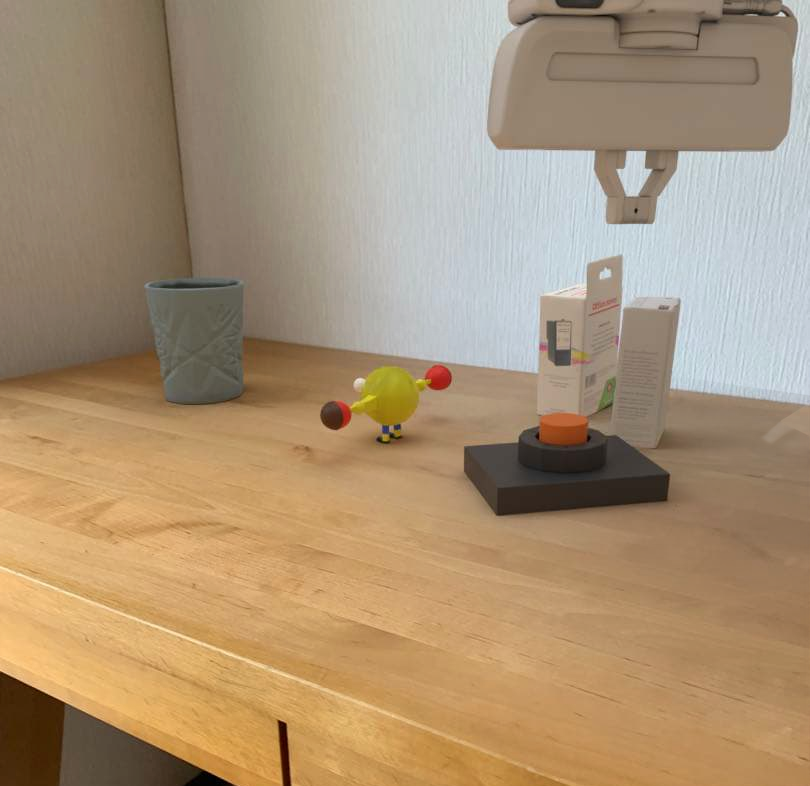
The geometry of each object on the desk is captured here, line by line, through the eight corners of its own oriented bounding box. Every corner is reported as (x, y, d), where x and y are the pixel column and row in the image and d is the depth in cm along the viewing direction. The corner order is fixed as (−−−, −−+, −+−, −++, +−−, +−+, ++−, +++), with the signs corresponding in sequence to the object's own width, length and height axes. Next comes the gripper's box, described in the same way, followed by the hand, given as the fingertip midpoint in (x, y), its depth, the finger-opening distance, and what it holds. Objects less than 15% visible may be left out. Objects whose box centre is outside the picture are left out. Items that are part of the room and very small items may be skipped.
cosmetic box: (618, 427, 82) (629, 294, 77) (667, 431, 81) (682, 296, 76) (607, 446, 77) (618, 305, 72) (659, 451, 75) (674, 307, 71)
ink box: (571, 396, 93) (580, 250, 87) (616, 403, 90) (627, 252, 84) (533, 415, 87) (539, 259, 81) (579, 422, 84) (589, 262, 78)
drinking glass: (141, 396, 97) (125, 284, 92) (214, 379, 104) (203, 274, 99) (197, 410, 91) (183, 291, 86) (271, 391, 98) (262, 280, 93)
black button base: (614, 459, 74) (617, 413, 72) (667, 501, 65) (673, 449, 63) (463, 471, 72) (464, 424, 70) (496, 516, 63) (498, 463, 61)
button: (577, 433, 69) (578, 411, 68) (594, 446, 65) (595, 424, 65) (532, 436, 68) (533, 414, 67) (547, 450, 65) (548, 427, 64)
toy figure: (420, 413, 88) (419, 345, 85) (467, 421, 85) (468, 351, 82) (301, 461, 75) (295, 383, 72) (352, 473, 72) (348, 392, 69)
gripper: (774, 5, 60) (743, 220, 65) (484, -5, 57) (477, 222, 62) (831, -12, 54) (792, 225, 60) (512, -25, 51) (501, 227, 56)
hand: (629, 224), depth 61 cm, fingers closed
